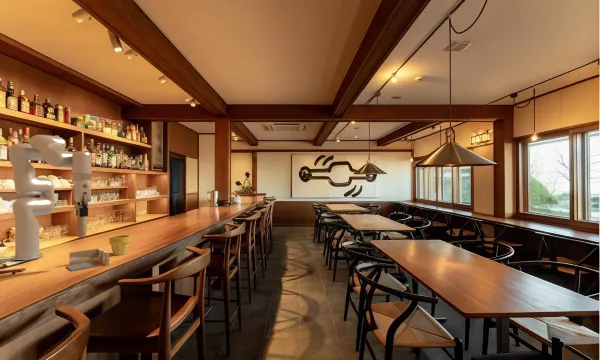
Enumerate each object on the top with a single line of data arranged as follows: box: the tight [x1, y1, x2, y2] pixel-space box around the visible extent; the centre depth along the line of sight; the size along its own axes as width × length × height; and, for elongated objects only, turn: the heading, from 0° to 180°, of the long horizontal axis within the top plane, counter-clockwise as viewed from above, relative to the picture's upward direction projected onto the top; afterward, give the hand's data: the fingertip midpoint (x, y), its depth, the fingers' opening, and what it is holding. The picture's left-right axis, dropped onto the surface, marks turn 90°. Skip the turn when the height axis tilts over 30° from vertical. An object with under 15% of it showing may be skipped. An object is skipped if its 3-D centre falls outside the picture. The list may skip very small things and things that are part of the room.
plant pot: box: [108, 234, 132, 256], centre depth 171 cm, size 10×10×10 cm
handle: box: [73, 204, 90, 238], centre depth 145 cm, size 5×6×15 cm
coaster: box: [66, 261, 98, 272], centre depth 145 cm, size 10×10×1 cm
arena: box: [68, 247, 110, 267], centre depth 148 cm, size 15×13×6 cm
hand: (82, 215), depth 145 cm, fingers closed on handle, 6 cm apart
